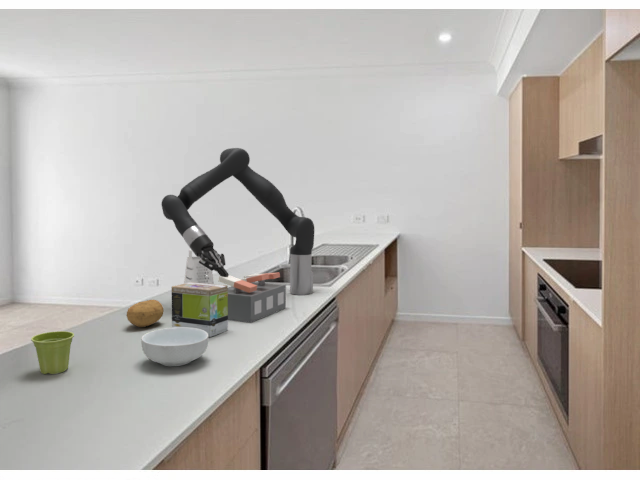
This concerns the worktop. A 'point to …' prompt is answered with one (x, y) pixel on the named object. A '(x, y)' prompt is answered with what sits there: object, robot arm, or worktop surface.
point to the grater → (197, 271)
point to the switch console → (256, 301)
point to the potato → (145, 313)
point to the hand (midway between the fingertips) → (226, 277)
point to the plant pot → (53, 351)
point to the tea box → (200, 307)
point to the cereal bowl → (174, 345)
